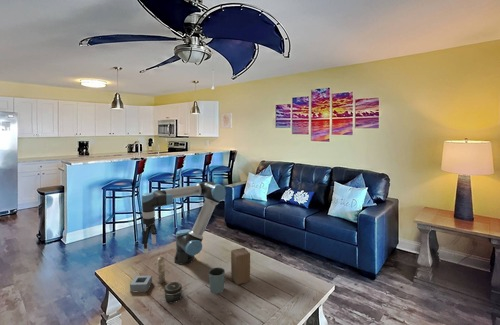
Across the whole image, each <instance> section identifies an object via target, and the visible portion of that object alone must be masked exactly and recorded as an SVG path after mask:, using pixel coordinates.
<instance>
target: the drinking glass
mask: <svg viewBox="0 0 500 325" xmlns="http://www.w3.org/2000/svg"><path fill="white" fill-rule="evenodd" d="M225 273H226V271H225V269H224V268H223V267H212V268H210V269H209V270H208V279H209V290H210V292H211V293H213V294H221V293H222V292H223V291H224V289H225V275H226V274H225Z"/></svg>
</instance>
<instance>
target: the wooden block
mask: <svg viewBox="0 0 500 325" xmlns="http://www.w3.org/2000/svg"><path fill="white" fill-rule="evenodd" d="M230 252H231V253H230V256H231V257H230V258H231V259H230V263H231V264H230V267H231V268H230V269H231V270H230V271H231V272H230V274H231V276H230V277H231V279H232V280H233V282H234V283H235V284H236V285H241V284H245V283H249V282H250V281H251V252H249V251H248V250H247V249H246V248H245V247H240V248H236V249H232V250H231V251H230Z"/></svg>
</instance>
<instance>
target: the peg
mask: <svg viewBox="0 0 500 325" xmlns="http://www.w3.org/2000/svg"><path fill="white" fill-rule="evenodd" d="M157 274H158V278H157V279H158V284H164V283H165V282H166V275H165V274H166V273H165V257H163V256H160V257H158V258H157ZM163 282H164V283H163Z"/></svg>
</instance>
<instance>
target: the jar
mask: <svg viewBox="0 0 500 325" xmlns="http://www.w3.org/2000/svg"><path fill="white" fill-rule="evenodd" d="M163 292H164V299H165V301H166V302H167V303H169V302H174V303H176V301H177V302H179V301H180V300H181V298H182V295H183V287H182V284H181V282H179V281H172V282H169V283H167V284H166V285H165V286H164V291H163ZM178 300H179V301H178Z"/></svg>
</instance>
